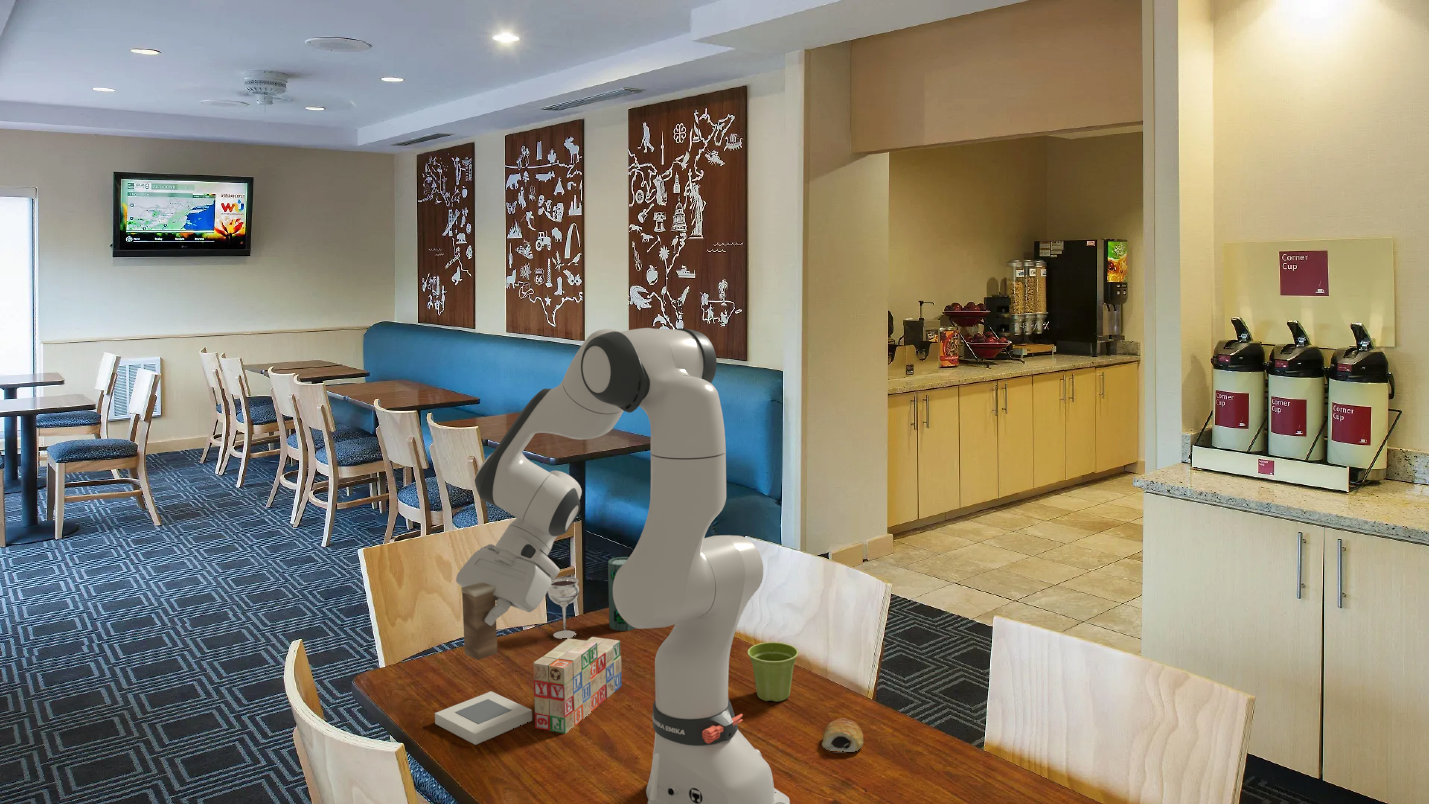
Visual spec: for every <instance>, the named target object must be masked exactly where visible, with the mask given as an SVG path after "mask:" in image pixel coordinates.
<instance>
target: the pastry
mask: <svg viewBox="0 0 1429 804" xmlns="http://www.w3.org/2000/svg"><path fill="white" fill-rule="evenodd" d="M864 743H865V742H864V734H863V730H862V729H861V727H860V726H859V725H858V723H857V722H856V721H855V720H851V719H848V718H844V717H840V718H837V719H835V720H832V721H830V722H828V724H827V725H826V727H825V728H824V731H823V733H822V742H821V747H823V749H824V748H825V749H826V750H830V751H838V752H837V753H846V752H854V753H856V752H855V751H857V752H859V751H860V750H861V749H862V748H863V745H864ZM861 747H862V748H861ZM860 748H861V749H860ZM825 749H824V750H825ZM859 749H860V750H859ZM826 750H825V751H826ZM858 750H859V751H858ZM830 751H829V752H830ZM839 751H840V752H839ZM842 751H844V752H842Z"/></svg>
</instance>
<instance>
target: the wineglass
mask: <svg viewBox="0 0 1429 804" xmlns="http://www.w3.org/2000/svg"><path fill="white" fill-rule="evenodd" d="M551 581H552V582H551V586H550V588H549V590H548V592H547V594H548V597H549V599H550V601H552V602H553V603H555V604H556V605H559V606H560V607H561V609H562V611H561V612H562V622H563V630H559V631H556V632H554V633H553V637H554V638H556V639H561V640H563V639H562V638H567V639H568V638H570V639H572V638H573V636H574V635H575V636H576V635H577V633H575V632H576V631H574V630H569V629H568V630H567V629H566V627H567V623H566V621H567V619H566V618H567V613H566V612H567V607H568V605H569V604H572V603H574V601H576V599H578V598H579V597H578V596H579V594H580V587H579V585H578V584H579V582H580V581H579V579H578V578H576V577H573V576H560V577H555V578H554V579H552V578H551ZM575 636H574V637H575Z"/></svg>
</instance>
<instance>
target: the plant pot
mask: <svg viewBox="0 0 1429 804" xmlns="http://www.w3.org/2000/svg"><path fill="white" fill-rule="evenodd" d="M747 655H748V657H749V659H750V662H751V664H752V669H753V675H754V676H753V677H754V682H755V683H754V684H755V689H756V696H757V697H758V698H759V699H760V700H762V701H764V702H768V701H772V702H775V703H777V702H782V701H786V700H787V699H789V697H790V695H791V688H792V681H793V672H794V665H795V663H796V662H797V661H796V660H797V657H798V656H799V650H798V649H797V648H796V647H795V646H794V645H792V644H788V643H784V642H779V641H778V642H776V641H770V642H760V643H757V644H754V645H752V646H751V647H749V648H748V650H747Z"/></svg>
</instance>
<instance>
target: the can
mask: <svg viewBox="0 0 1429 804" xmlns="http://www.w3.org/2000/svg"><path fill="white" fill-rule="evenodd" d="M629 557H630V556H629ZM629 557H628V556H620V557H618V556H617V557H612V558H610V559H609V560H608V561H607V571H608V572H607V574H608V575H607V576H608V579H607V581H608V582H607V583H608V616H609V617H608V620H609V621H608V622H609V628H610V629H611V630H614V631H618V632H619V631H620V632H625V631H628V632H630V631H632V630H635V629H636V628H634V627H632V626H631V625H629V624H628V623H627V622H626V621H625V620H624V619H623V618H622V617H621V615H620V614H619V612H618V611H617V608H616V606H615V603H614V599H613V583H614V579H615V576H616V573H617V571H618V570H619V568H620V567H621V566H622V565H623V564H624V563H625V562H626V561H627V559H628V558H629Z"/></svg>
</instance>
